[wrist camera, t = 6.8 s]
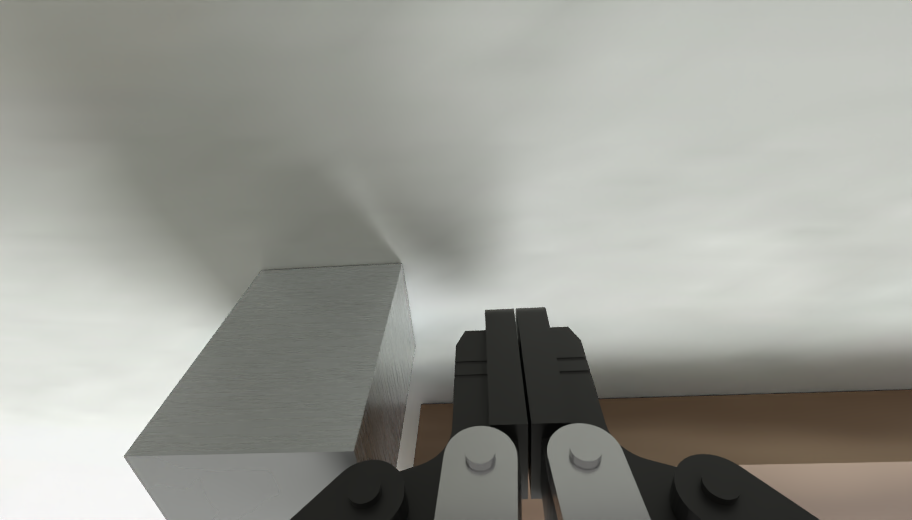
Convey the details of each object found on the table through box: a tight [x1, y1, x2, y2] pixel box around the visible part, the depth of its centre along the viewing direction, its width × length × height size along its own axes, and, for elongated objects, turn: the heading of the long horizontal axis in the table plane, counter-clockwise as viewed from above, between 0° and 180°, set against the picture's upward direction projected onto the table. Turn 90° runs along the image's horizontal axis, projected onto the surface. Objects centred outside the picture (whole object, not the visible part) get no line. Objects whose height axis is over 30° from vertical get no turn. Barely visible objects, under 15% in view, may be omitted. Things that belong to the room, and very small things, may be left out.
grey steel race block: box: [124, 263, 415, 520], centre depth 11 cm, size 4×3×6 cm
